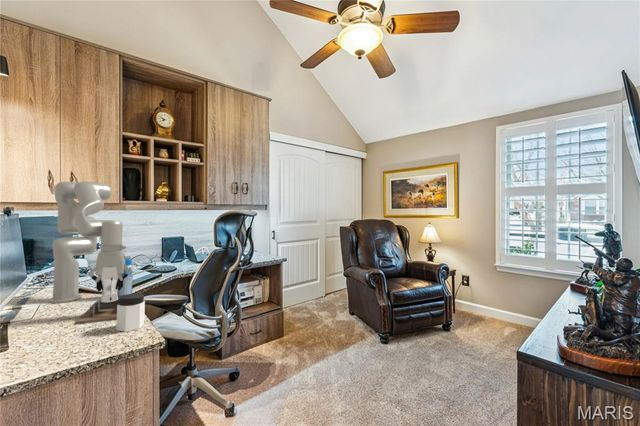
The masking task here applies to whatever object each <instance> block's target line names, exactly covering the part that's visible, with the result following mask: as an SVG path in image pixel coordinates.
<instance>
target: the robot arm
mask: <svg viewBox="0 0 640 426" xmlns="http://www.w3.org/2000/svg"><path fill="white" fill-rule="evenodd" d="M53 193H54V199H55V200H56V204H57V232H58V233H60V234H61V235H67V237H66V236H65V237H60V238H56V239H55V240H54V241H53V242H52V248H51V249H52V254H53V281H52V282H53V283H52V284H53V285H52V297H51V298H48V302H47V303H51V304H60V303H61V304H62V303H69V302H75V301H78V300H81V299H82V297H83V296H82V294H79V277H80V263H79V262H78V260H77V259H76V258H75V256H83V255H84V256H85V255H92V254H94V253H95V252H96V250H97V246H98V238H100V249H99V252H98V254H97V258H96V262H95V267H93V268H92V269H91V270H90V271H89V272H87V276H89V277H90V278H91V279H92V280H93V281H95V283H96V286H95V287H96V288H95V289H96V290H97V292H98V293H100V292H102V287H101V281H100V278H101V274H102V270H103V267H116V270H117V274H118V275H119V281H118V290H121V288H123V280H124V279H125V278H126V277H127V276H128V275H129V274H130V273H131V272H132V270H133V269H132V270H131V269H129V268H128V267H127V266H125V259H126V255H125V251H123V250H126V249H127V246H126V245H123V229H124V228H123V222H122V221H120V220H113V219H112V220H111V219H96V218H94V217H93V216H92V215H95V214H98V213H99V212H101V211H102V210H103V209H104V207H105V204H104V201H107V200H109V199H110V198H111V196H112V189H111V187H110V185H108V184H106V183H104V182H102V183H101V182H97V181H96V182H95V181H84V180H83V181H77V182H76V181H61V182H58V183H56V184H55V187H54V192H53ZM76 200H77V201H78V202H77V201H76ZM78 203H79V204H78ZM68 235H69V236H68ZM70 235H81V236H70ZM125 270H126V271H127V273H126V274H125V275H124V276H123V273H124V272H125ZM94 273H95V274H94Z"/></svg>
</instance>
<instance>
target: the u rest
mask: <svg viewBox="0 0 640 426" xmlns="http://www.w3.org/2000/svg"><path fill="white" fill-rule="evenodd" d="M118 300H119V299H118ZM118 300H117V301H114V302H109V303H102V302H101V299H98V300H96V301H95V302H93V304H92V305H91V306H89V308H88V309H87V310H86V312H84V313H83V314H82V315H81V316H80V317H79V318H78V319H76V321H75V322H74V323H75V325H81V324H89V323H101V322H108V321H117V305H118V304H119V302H118Z"/></svg>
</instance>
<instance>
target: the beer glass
mask: <svg viewBox="0 0 640 426" xmlns="http://www.w3.org/2000/svg"><path fill="white" fill-rule="evenodd" d="M100 281H101V287H102V290H101V299H100V300H101V302H102V303H109V302H114V301H117V300H118V295H117V290H118V281H119V275H118V274H117V270H116V267H103V270H102V274H101V278H100Z"/></svg>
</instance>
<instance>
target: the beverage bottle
mask: <svg viewBox="0 0 640 426" xmlns="http://www.w3.org/2000/svg"><path fill="white" fill-rule="evenodd" d="M132 261H133V260H132V258H125V266H127V267H128V268H129V269H131V270H132V272H131V273H130V274H129V275H128V276H127V277H126V278H125V279H124V280H123V288H121V290H117V295H118V299H119V297H120V296H123V295H127V294H133V279H134V275H133V273H134V270H133V267H132V264H133V263H132ZM126 273H127V271H126V270H125V272H124V273H123V276H124V275H125V274H126Z"/></svg>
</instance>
